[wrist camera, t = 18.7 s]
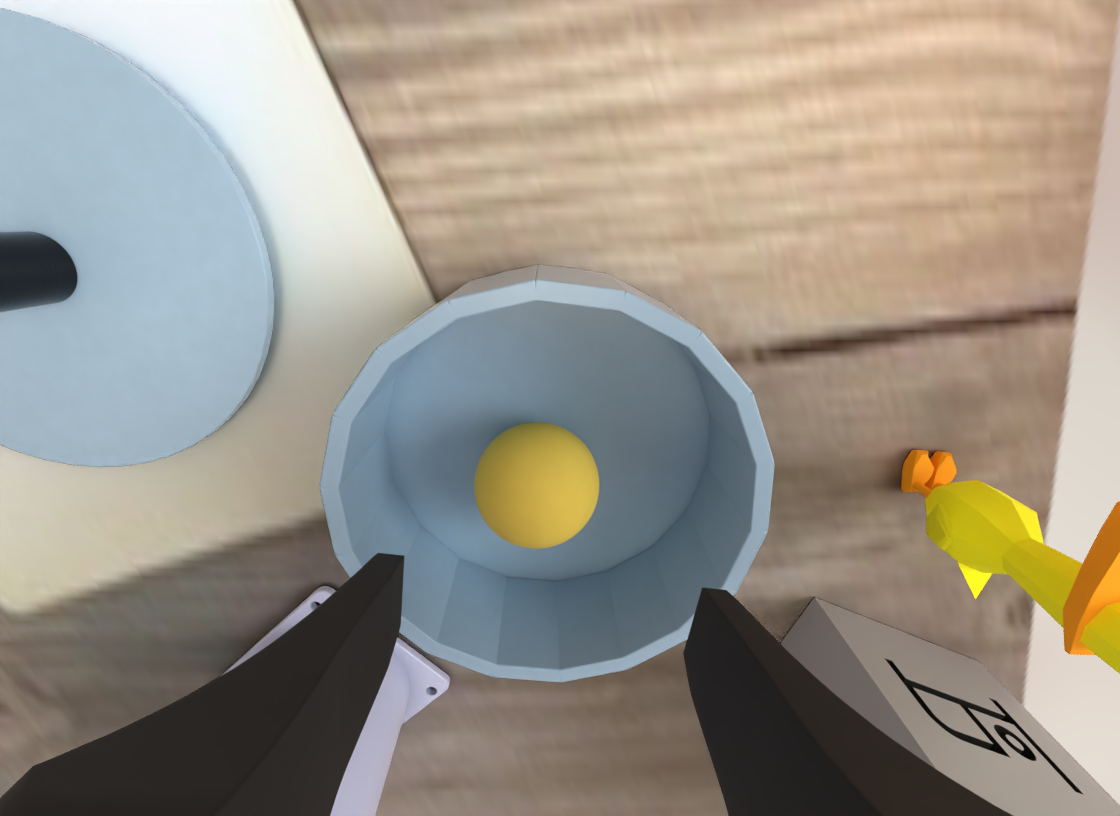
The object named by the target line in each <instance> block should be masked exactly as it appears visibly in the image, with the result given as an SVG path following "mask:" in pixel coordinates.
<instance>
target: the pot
mask: <svg viewBox="0 0 1120 816" xmlns="http://www.w3.org/2000/svg"><path fill="white" fill-rule="evenodd" d="M531 422H544V423H550V424H554V425H557V426H560V427H562V428H564V429H566V430H568V431H570V432H571V433H573V434H574V435H576V436H577V437H578V438H579V439H580V440H581V441H582V442H583V443H584V444H585V445H586V447H587V448H588V450H589V451H590V453H591V454H592V456H593V458H594V461H595V463H596V466H597V469H598V475H599V495H598V500H597V504H596V507H595V510H594V512H593V514H592V516H591V517H590V519H589V521H588V522H587V523H586V525H585V526H584V527H583V528H582V529H581V530H580V531H579V532H578V533H577V534H576V535H575V536H573V537H572V538H570V539H569V540H567V541H565V542H563V543H561V544H559V545H556V546H552V547H548V548H541V549H533V548H525V547H520V546H517V545H514V544H512V543H510V542H508V541H506V540H504V539H502V538H501V537H500V536H498V535H497V534H496V533H495V532H494V531H493V530H492V529H491V528H490V527H489V526H488V525H487V523H486V522H485V521H484V519H483V517H482V515H481V513H480V511H479V509H478V506H477V503H476V499H475V493H474V480H475V473H476V469H477V466H478V463H479V460H480V458H481V456H482V454H483V453H484V451H485V449H486V448H487V447H488V446H489V444H490V443H491V442H492V441H493V440H494V439H495V438H496V437H497V436H499V435H500V434H501V433H503V432H504V431H506V430H508V429H510V428H512V427H514V426H517V425H520V424H524V423H531ZM774 465H775V464H774V459H773V455H772V452H771V449H770V446H769V443H768V439H767V436H766V433H765V430H764V426H763V423H762V420H761V417H760V413H759V410H758V407H757V404H756V400H755V397H754V394H753V393H752V390H751V389H750V388H749V387H748V385H747V384H746V383H745V382H744V381H743V379H742V378H741V377H740V376H739V375H738V373H737V372H736V371H735V370H734V369H733V367H732V366H731V365H730V364H729V363H728V362H727V360H726V359H725V358H724V357H723V356H722V354H721V353H720V352H719V351H718V350H717V348H716V347H715V346H714V345H713V344H712V342H711V341H710V340H709V339H708V338H707V336H706V335H705V334H704V333H703V332H702V331H700V330H699V329H698V328H697V327H695V326H694V325H692V324H691V323H690V322H688V321H687V320H686V319H684V318H683V317H681V316H680V315H679V314H677V313H676V312H674V311H673V310H672V309H670V308H669V307H667V306H666V305H665V304H663V303H661V302H659V301H657V300H656V299H654V298H652V297H650V296H648V295H646V294H644V293H643V292H641V291H639V290H637V289H635V288H633V287H632V286H630V285H628V284H626V283H624V282H622V281H620V280H618V279H616V278H615V277H613V276H611V275H609V274H606V273H601V272H593V271H587V270H583V269H577V268H567V267H558V266H547V265H533V266H529V267H525V268H521V269H515V270H509V271H504V272H501V273H498V274H494V275H491V276H487V277H483V278H478V279H474V280H472V281H469V282H468V283H466V284H465V285H463V286H462V287H460V288H459V289H457V290H456V291H455V292H453V293H452V294H450V295H449V296H447V297H446V298H444V299H443V300H441V301H440V302H438V303H437V304H435V305H434V306H433V307H431V308H430V309H428V310H427V311H425V312H424V313H422V314H421V315H419V316H418V317H417V318H415V319H414V320H413V321H411V322H410V323H408V324H407V325H406V326H404V327H403V328H402V329H400V330H399V331H398V332H396V333H395V334H394V335H392V336H391V337H390V338H388V339H387V340H386V341H384V342H383V343H382V344H380V345H379V346H378V347H377V348H376V349H375V350H374V351H373V353H372V354H371V356H370V357H369V359H368V360H367V362H366V363H365V365H364V366H363V368H362V369H361V371H360V373H359V374H358V376H357V377H356V379H355V380H354V382H353V383H352V385H351V386H350V388H349V389H348V391H347V392H346V394H345V395H344V397H343V398H342V400H341V401H340V403H339V404H338V406H337V407H336V409H335V411H334V412H333V415H332V418H331V424H330V429H329V435H328V441H327V446H326V452H325V457H324V463H323V469H322V474H321V480H320V492H321V496H322V501H323V505H324V510H325V514H326V518H327V523H328V527H329V531H330V536H331V540H332V545H333V549H334V553H335V554H336V558H337V559H338V561H339V562H340V564H341V565H342V567H343V568H344V569H345V571H346V572H347V574H348V575H349V577H350V578H351V577H352V576H353V575H354V574H355V573H356V572H357V571H358V570H360V569H361V568H362V567H363V566H364V565H365V564H366V563H367V562H368V561H369V560H370V559H371V558H372V557H373V556H375V555H376V554H377V553H386V554H395V555H404V575H403V593H402V611H401V626H400V630H399V632H400V633H401V634H402V635H404V636H405V637H406V638H408V639H409V640H410V641H412V642H413V643H414V644H416V645H417V646H418V647H419V648H421V649H422V650H423V651H425V652H426V653H429V654H431V655H434V656H436V657H439V658H442V659H444V660H447V661H450V662H453V663H455V664H458V665H461V666H463V667H466V668H469V669H472V670H474V671H477V672H480V673H482V674H485V675H488V676H493V677H499V678H511V679H524V680H537V681H549V682H560V681H561V682H566V681H571V680H576V679H581V678H587V677H592V676H597V675H602V674H607V673H613V672H618V671H623V670H627V669H630V668H632V667H634V666H636V665H638V664H640V663H642V662H644V661H646V660H648V659H650V658H652V657H654V656H656V655H658V654H660V653H662V652H663V651H665V650H667V649H669V648H671V647H673V646H675V645H677V644H679V643H681V642H683V641H685V640H687V639H688V635H689V632H690V628H691V625H692V621H693V618H694V614H695V611H696V607H697V604H698V600H699V597H700V593H701V590H702V587H704V588H713V589H722V590H727V591H728V592H729V593H730V594H731V595H732V596H733V595H734V594H735V593H736V591H738V589H739V587H740V585H741V583H742V581H743V579H744V577H745V575H746V573H747V571H748V569H749V568H750V566H751V564H752V562H753V560H754V558H755V556H756V554H757V552H758V550H759V548H760V546H761V544H762V542H763V540H764V538H765V536H766V534H767V531H768V525H769V515H770V505H771V495H772V485H773V475H774Z"/></svg>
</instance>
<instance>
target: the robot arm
mask: <svg viewBox="0 0 1120 816" xmlns="http://www.w3.org/2000/svg"><path fill="white" fill-rule="evenodd" d="M403 575H404V555H395V554H386V553H377V554H376V555H375V556H373V557H372V558H371V559H370V560H369V561H368V562H367V563H366V564H365V565H364V566H363V567H362V568H361V569H360V570H358V571H357V572H356V573H355V574H354V575H353V576H352V577H351V578H350V579H349V580H348V581H347V582H346V583H344V584H343V585H342V586H341V587H340V588H339V589H338V590H337V591H336V590H334V589H333V588H331V587H328V586H322V587H319V588H318V589H317V590H315V591H314V592H313V593H312V594H311V595H310V596H309V597H308V598H307V599H305V600H304V601H303V602H302V603H301V604H300V605H299V606H298V607H297V608H295V609H294V610H293V611H292V612H291V613H290V614H289V615H288V616H287V617H285V618H284V619H283V620H282V621H281V622H280V623H279V624H278V625H277V626H275V627H274V628H273V629H272V630H271V631H270V632H269V633H268V634H267V635H265V636H264V637H263V638H262V639H261V640H260V641H259V642H258V643H256V644H255V645H254V646H253V647H252V648H251V649H250V650H249V651H248V652H246V653H245V654H244V655H243V656H242V657H241V658H240V659H239V660H238V661H236V662H235V663H234V664H233V665H232V666H231V667H230V668H229V669H228V670H226V671H225V672H224V673H223V674H222V675H221V676H220V677H218V678H217V679H215V680H213V681H211V682H210V683H208V684H206V685H204V686H203V687H201V688H199V689H198V690H196V691H194V692H192V693H191V694H189V695H187V696H185V697H183V698H182V699H180V700H178V701H176V702H174V703H172V704H170V705H168V706H166V707H164V708H162V709H160V710H158V711H157V712H155V713H153V714H150V715H148V716H146V717H144V718H142V719H140V720H138V721H136V722H134V723H132V724H130V725H128V726H126V727H124V728H121V729H119V730H117V731H115V732H113V733H111V734H108V735H106V736H104V737H101V738H99V739H97V740H94V741H92V742H90V743H87V744H85V745H83V746H80V747H78V748H76V749H73V750H71V751H69V752H66V753H64V754H62V755H59V756H57V757H55V758H52V759H50V760H47V761H45V762H42V763H40V764H37V765H35V766H33V767H32V768H31V769H30V770H29V771H28V772H27V773H26V774H25V775H24V776H23V777H22V778H20V779H19V780H18V781H17V782H16V783H15V784H14V785H13V786H12V787H11V788H10V789H9V790H8V791H7V792H6V793H5V794H4V795H3V796H2V797H1V798H0V816H375V814H376V811H377V808H378V804H379V801H380V797H381V794H382V790H383V787H384V783H385V780H386V776H387V773H388V769H389V766H390V763H391V759H392V756H393V752H394V749H395V745H396V742H397V738H398V735H399V731H400V728H401V725H402V724H403V723H405V722H406V721H407V720H408V719H410V718H411V717H412V716H414V715H415V714H416V713H418V712H419V711H420V710H421V709H423V708H424V707H425V706H427V705H428V704H429V703H431V702H432V701H433V700H434V699H436V698H437V697H438V696H440V695H441V694H442V693H444V692H445V691H446V690H447V689H448V687H449V683H450V678H449V676H448V675H447V674H446V673H445V672H443V671H442V670H441V669H439V668H438V667H437V666H435V665H434V664H433V663H431V662H430V661H429V660H427V659H426V658H425V657H423V656H422V655H421V654H419V653H418V652H417V651H415V650H414V649H413V648H411V647H410V646H409V645H407V644H406V643H405V642H403V641H402V640H401V639H399V638H398V633H399V630H400V626H401V611H402V593H403ZM315 602H319V603H320V605H318V604H316V603H315ZM684 659H685V664H686V670H687V676H688V681H689V686H690V691H691V696H692V699H693V702H694V705H695V709H696V712H697V715H698V718H699V721H700V725H701V728H702V731H703V734H704V737H705V740H706V743H707V746H708V750H709V753H710V756H711V759H712V762H713V765H714V768H715V771H716V774H717V777H718V781H719V784H720V787H721V790H722V793H723V796H724V800H725V803H726V807H727V811H728V814H729V816H1013V815H1011V814H1009V813H1008V812H1006V811H1004V810H1002V809H1000V808H999V807H997V806H995V805H993V804H992V803H990V802H988V801H986V800H985V799H983V798H982V797H980V796H978V795H977V794H975V793H973V792H972V791H970V790H969V789H967V788H965V787H964V786H962V785H960V784H959V783H957V782H955V781H954V780H952V779H951V778H949V777H947V776H946V775H944V774H943V773H941V772H940V771H938V770H937V769H935V768H934V767H932V766H931V765H929V764H928V763H926V762H925V761H923V760H922V759H920V758H919V757H917V756H916V755H914V754H913V753H912V752H910V751H909V750H907V749H906V748H904V747H903V746H902V745H900V744H899V743H897V742H896V741H894V740H893V739H892V738H890V737H889V736H887V735H886V734H885V733H883V732H882V731H881V730H879V729H878V728H877V727H875V726H874V725H873V724H871V723H870V722H869V721H868V720H866V719H865V718H864V717H863V716H861V715H860V714H859V713H858V712H856V711H855V710H854V709H853V708H851V707H850V706H849V705H847V704H846V703H845V702H844V701H843V700H841V699H840V698H839V697H838V696H837V695H835V694H834V693H833V692H832V691H831V690H830V689H828V688H827V687H826V686H825V685H824V684H823V683H822V682H821V681H820V680H818V679H817V678H816V677H815V676H814V675H813V674H812V673H811V672H809V671H808V670H807V669H806V668H805V667H804V666H803V665H802V664H801V663H800V662H799V661H798V660H797V659H796V658H794V657H793V656H792V655H791V654H790V653H789V652H788V651H787V650H786V649H785V648H784V647H783V646H782V645H781V644H780V643H779V642H778V641H777V640H776V639H775V638H774V637H773V636H772V635H771V634H770V633H769V632H768V631H767V630H766V629H765V628H764V627H763V626H762V625H761V624H760V623H759V622H758V621H757V620H756V619H755V618H754V617H753V616H752V615H751V614H750V613H749V612H748V611H747V610H746V609H745V608H744V607H743V605H742V604H741V603H740V602H739V601H738V600H736V599H735V598H734V597H733V596H732V595H731V594H730V593H729V592H728V591H727V590H722V589H713V588H704V587H702V590H701V593H700V597H699V600H698V604H697V607H696V611H695V614H694V618H693V621H692V625H691V628H690V632H689V635H688V639H687V642H686V646H685V649H684ZM430 687H434V688H430Z"/></svg>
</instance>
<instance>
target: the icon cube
mask: <svg viewBox="0 0 1120 816" xmlns="http://www.w3.org/2000/svg"><path fill="white" fill-rule="evenodd" d="M780 644H781V645H782V646H783V647H784V648H785V649H786V650H787V651H788V652H789V653H790V654H791V655H792V656H793V657H794V658H796V659H797V660H798V661H799V662H800V663H801V664H802V665H803V666H804V667H805V668H806V669H807V670H808V671H809V672H811V673H812V674H813V675H814V676H815V677H816V678H817V679H818V680H820V681H821V682H822V683H823V684H824V685H825V686H826V687H827V688H828V689H830V690H831V691H832V692H833V693H834V694H835V695H837V696H838V697H839V698H840V699H841V700H843V701H844V702H845V703H846V704H847V705H849V706H850V707H851V708H853V709H854V710H855V711H856V712H858V713H859V714H860V715H861V716H863V717H864V718H865V719H866V720H868V721H869V722H870V723H871V724H873V725H874V726H875V727H877V728H878V729H879V730H881V731H882V732H883V733H885V734H886V735H887V736H889V737H890V738H892V739H893V740H894V741H896V742H897V743H899V744H900V745H902V746H903V747H904V748H906V749H907V750H909V751H910V752H912V753H913V754H914V755H916V756H917V757H919V758H920V759H922V760H923V761H925V762H926V763H928V764H929V765H931V766H932V767H934V768H935V769H937V770H938V771H940V772H941V773H943V774H944V775H946V776H947V777H949V778H951V779H952V780H954V781H955V782H957V783H959V784H960V785H962V786H964V787H965V788H967V789H969V790H970V791H972V792H973V793H975V794H977V795H978V796H980V797H982V798H983V799H985V800H986V801H988V802H990V803H992V804H993V805H995V806H997V807H999V808H1000V809H1002V810H1004V811H1006V812H1008V813H1009V814H1011V815H1013V816H1120V805H1119V804H1118V803H1117V802H1116V801H1115V800H1114V799H1113V798H1112V797H1111V796H1110V795H1109V794H1108V793H1107V792H1106V791H1105V790H1104V789H1103V788H1102V787H1101V786H1100V785H1099V784H1098V783H1097V782H1096V781H1095V780H1094V779H1093V777H1091V775H1090V774H1089V773H1088V772H1087V771H1086V770H1085V769H1084V768H1083V767H1082V766H1081V765H1080V764H1079V763H1078V762H1077V761H1076V760H1075V759H1074V758H1073V757H1072V756H1071V755H1070V754H1069V753H1068V752H1067V751H1066V750H1065V749H1064V748H1063V747H1062V746H1061V745H1060V744H1059V743H1058V742H1057V741H1056V740H1055V739H1054V738H1053V737H1052V736H1051V734H1050V733H1048V732H1047V731H1046V729H1045V728H1044V727H1043V726H1042V725H1041V724H1040V723H1039V722H1038V721H1037V720H1036V719H1035V718H1034V717H1033V716H1032V715H1031V714H1030V713H1029V712H1028V711H1027V710H1026V709H1025V708H1024V707H1023V706H1022V705H1021V704H1020V703H1019V702H1018V701H1017V700H1016V699H1015V698H1014V697H1013V696H1012V695H1011V694H1010V693H1009V691H1008V690H1007V689H1006V688H1005V687H1004V686H1003V685H1002V684H1001V683H1000V682H999V681H998V680H997V679H996V678H995V677H994V676H993V675H992V674H991V673H990V672H989V671H988V670H987V669H986V668H985V667H984V666H983V665H982V664H981V663H980V662H978V661H976V660H973V659H971V658H968V657H966V656H963V655H961V654H958V653H955V652H953V651H950V650H948V649H945V648H943V647H940V646H938V645H935V644H933V643H930V642H927V641H925V640H922V639H920V638H917V637H915V636H912V635H910V634H907V633H905V632H902V631H899V630H897V629H894V628H892V627H889V626H887V625H884V624H882V623H879V622H876V621H874V620H871V619H869V618H866V617H864V616H861V615H859V614H856V613H854V612H851V611H848V610H846V609H843V608H841V607H838V606H836V605H833V604H831V603H828V602H825V601H823V600H820V599H818V598H815V597H814V599H813V600H812V601H811V603H810V604H809V605H808V607H807V608H806V609H805V611H804V612H803V613H802V615H801V616H800V617H799V619H798V620H797V621H796V623H795V624H794V625H793V627H792V628H791V630H790V631H789V632H788V634H787V635H786V636H785V638H784V639H783V640H782V642H781V643H780Z"/></svg>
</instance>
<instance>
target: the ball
mask: <svg viewBox="0 0 1120 816" xmlns="http://www.w3.org/2000/svg"><path fill="white" fill-rule="evenodd" d="M474 493H475V499H476V503H477V506H478V509H479V511H480V513H481V515H482V517H483V519H484V521H485V522H486V523H487V525H488V526H489V527H490V528H491V529H492V530H493V531H494V532H495V533H496V534H497V535H498V536H500V537H501V538H502V539H504V540H506V541H508V542H510V543H512V544H514V545H517V546H520V547H525V548H533V549H541V548H548V547H552V546H556V545H559V544H561V543H563V542H565V541H567V540H569V539H570V538H572V537H573V536H575V535H576V534H577V533H578V532H579V531H580V530H581V529H582V528H583V527H584V526H585V525H586V523H587V522H588V521H589V519H590V517H591V516H592V514H593V512H594V510H595V507H596V504H597V500H598V495H599V475H598V469H597V466H596V463H595V461H594V458H593V456H592V454H591V453H590V451H589V450H588V448H587V447H586V445H585V444H584V443H583V442H582V441H581V440H580V439H579V438H578V437H577V436H576V435H574V434H573V433H571V432H570V431H568V430H566V429H564V428H562V427H560V426H557V425H554V424H550V423H544V422H531V423H524V424H520V425H517V426H514V427H512V428H510V429H508V430H506V431H504V432H503V433H501V434H500V435H499V436H497V437H496V438H495V439H494V440H493V441H492V442H491V443H490V444H489V446H488V447H487V448H486V449H485V451H484V453H483V454H482V456H481V458H480V460H479V463H478V466H477V469H476V473H475V480H474Z"/></svg>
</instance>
